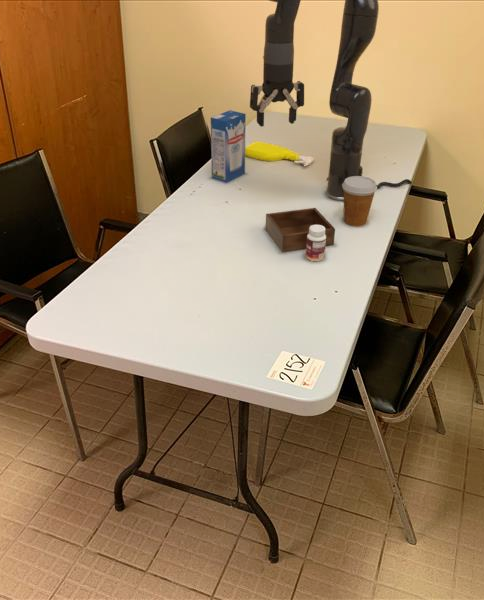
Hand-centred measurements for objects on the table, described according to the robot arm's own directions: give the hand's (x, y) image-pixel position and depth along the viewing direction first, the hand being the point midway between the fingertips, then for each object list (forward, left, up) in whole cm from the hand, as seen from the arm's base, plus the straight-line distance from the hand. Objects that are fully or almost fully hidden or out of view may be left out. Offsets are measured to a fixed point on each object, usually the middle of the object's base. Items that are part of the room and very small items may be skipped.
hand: (276, 124), depth 159 cm
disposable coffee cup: (-21, +10, -27) cm, 36 cm away
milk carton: (+4, -33, -27) cm, 43 cm away
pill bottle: (-2, +26, -27) cm, 37 cm away
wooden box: (-2, +14, -27) cm, 30 cm away
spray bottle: (-18, -43, -27) cm, 54 cm away
